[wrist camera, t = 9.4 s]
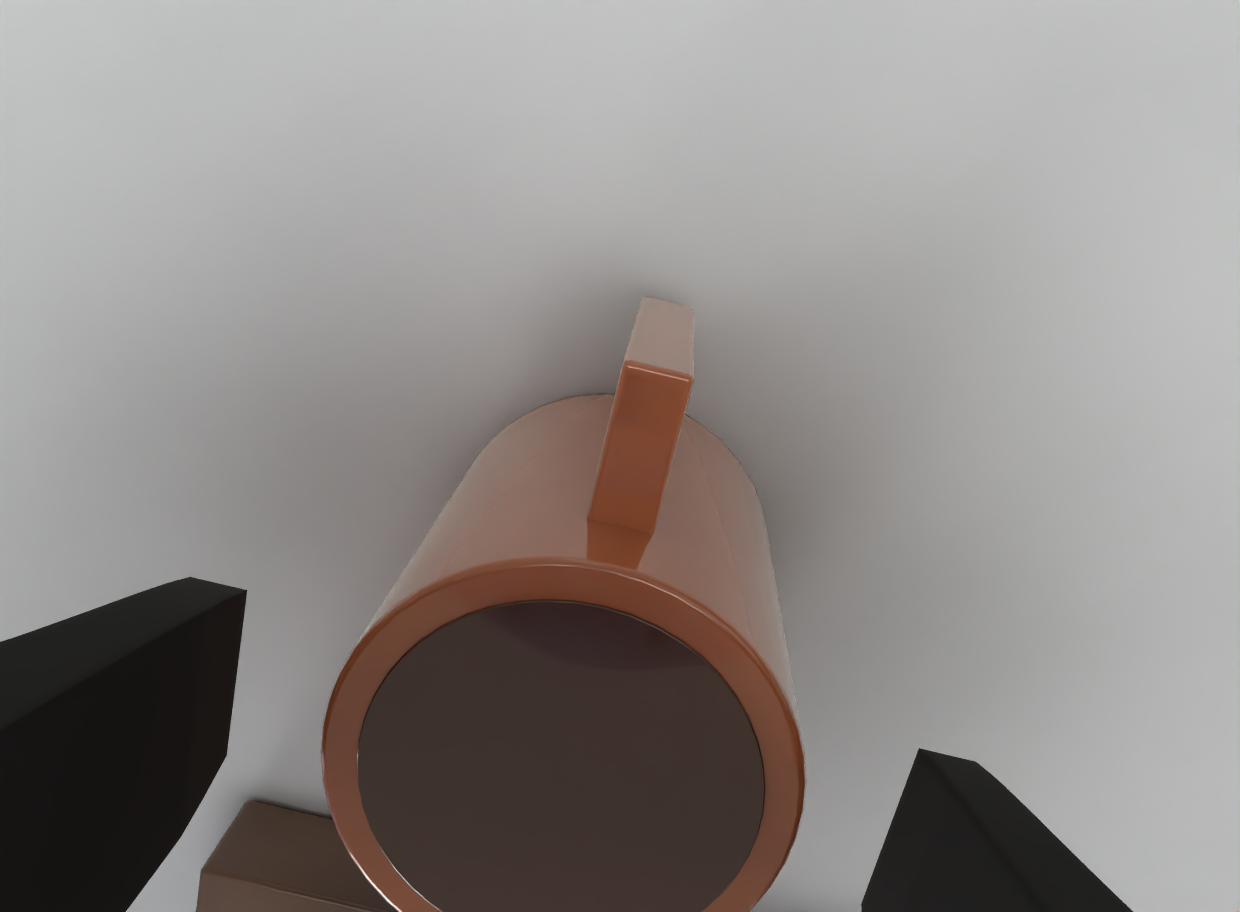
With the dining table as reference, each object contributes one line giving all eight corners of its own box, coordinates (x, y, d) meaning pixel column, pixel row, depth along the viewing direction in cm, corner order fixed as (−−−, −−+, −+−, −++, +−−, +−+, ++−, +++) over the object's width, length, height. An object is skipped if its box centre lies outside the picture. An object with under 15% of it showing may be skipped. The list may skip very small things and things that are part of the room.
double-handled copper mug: (419, 693, 17) (278, 989, 11) (504, 247, 15) (380, 330, 9) (707, 762, 17) (714, 1091, 11) (837, 326, 15) (928, 461, 9)
